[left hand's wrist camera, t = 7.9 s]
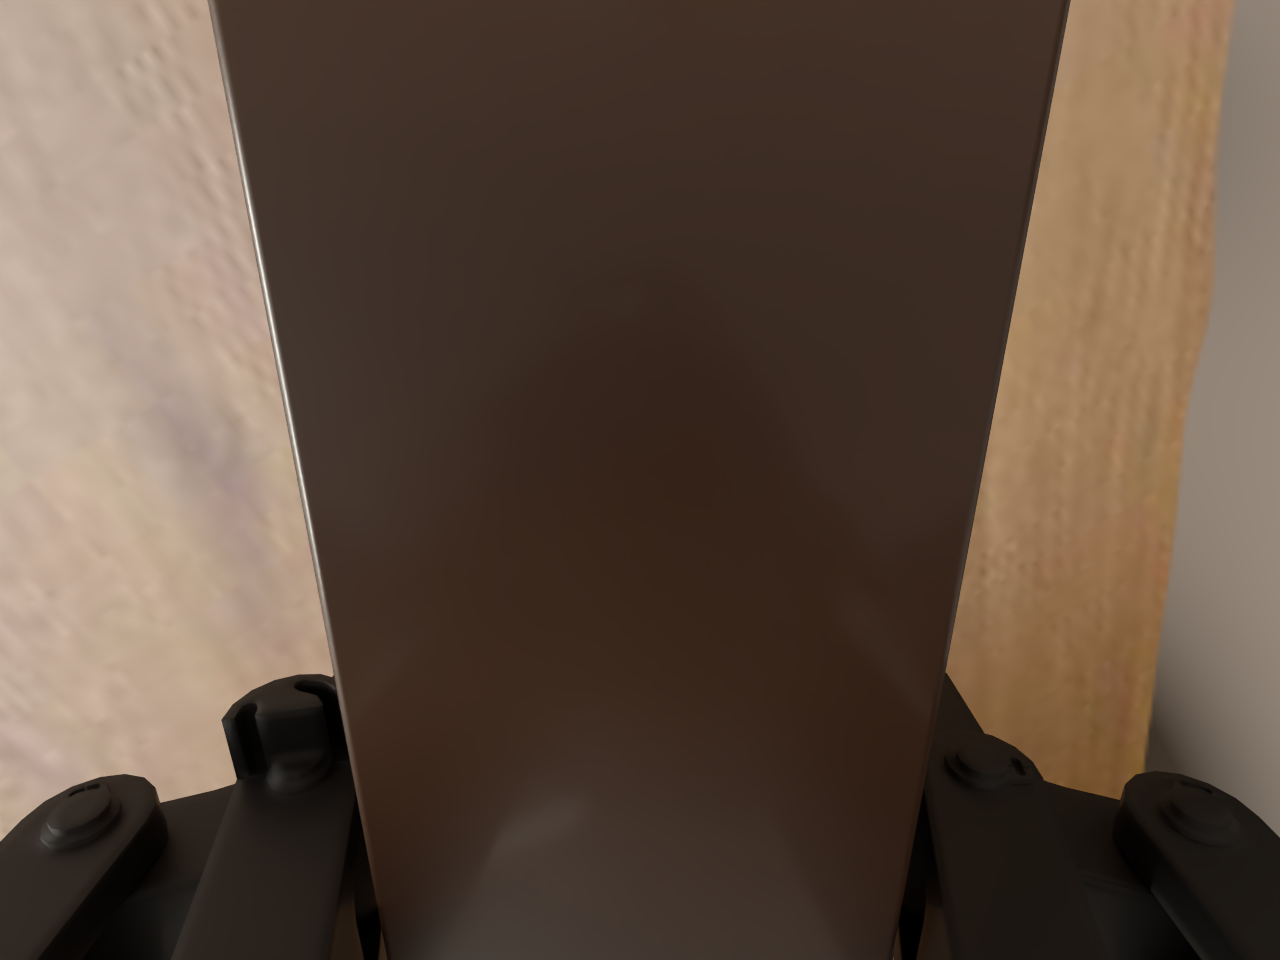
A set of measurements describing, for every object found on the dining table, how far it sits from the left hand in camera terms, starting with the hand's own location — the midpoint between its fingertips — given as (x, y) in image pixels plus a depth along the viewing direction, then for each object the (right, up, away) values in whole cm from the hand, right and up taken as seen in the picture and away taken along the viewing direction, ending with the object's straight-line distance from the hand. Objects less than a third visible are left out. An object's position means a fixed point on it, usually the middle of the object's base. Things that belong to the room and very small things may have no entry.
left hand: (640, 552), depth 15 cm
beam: (0, +10, -4) cm, 10 cm away
